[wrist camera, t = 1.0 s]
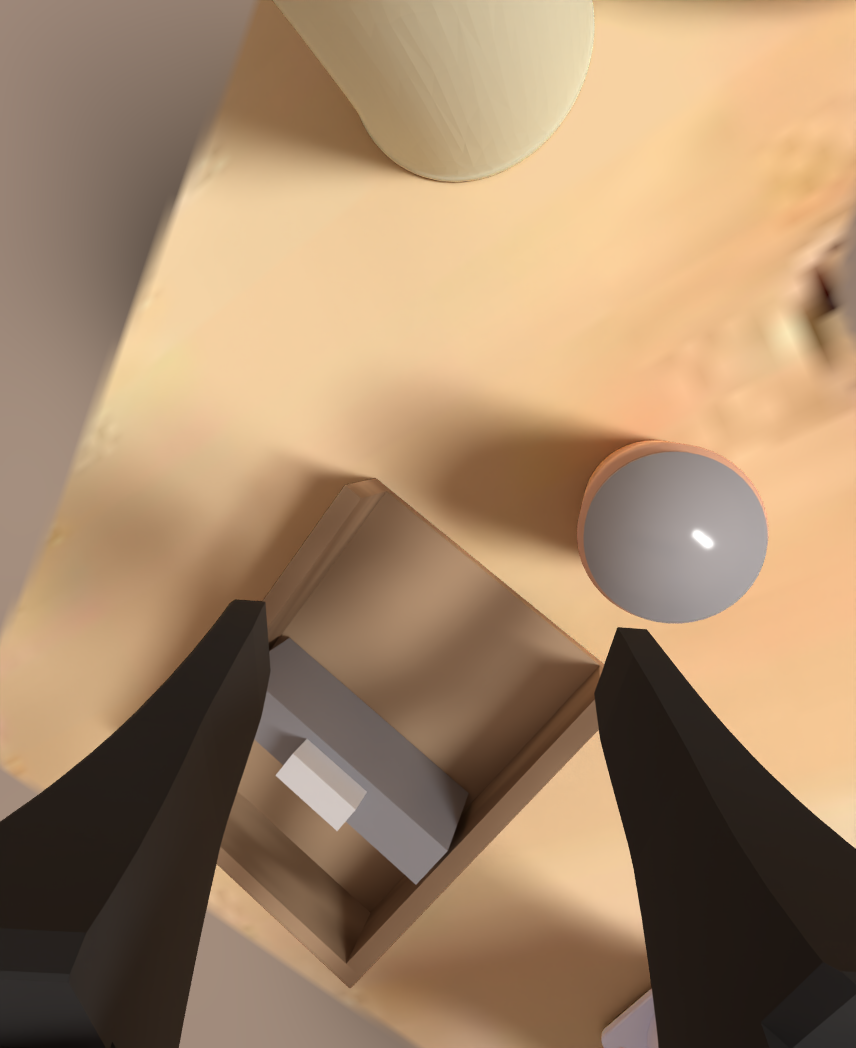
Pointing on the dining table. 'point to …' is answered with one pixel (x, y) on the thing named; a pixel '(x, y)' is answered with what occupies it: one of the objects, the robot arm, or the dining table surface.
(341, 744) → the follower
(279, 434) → the dining table surface
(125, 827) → the robot arm
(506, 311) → the dining table surface
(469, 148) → the can
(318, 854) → the brown wooden tray
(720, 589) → the jar
